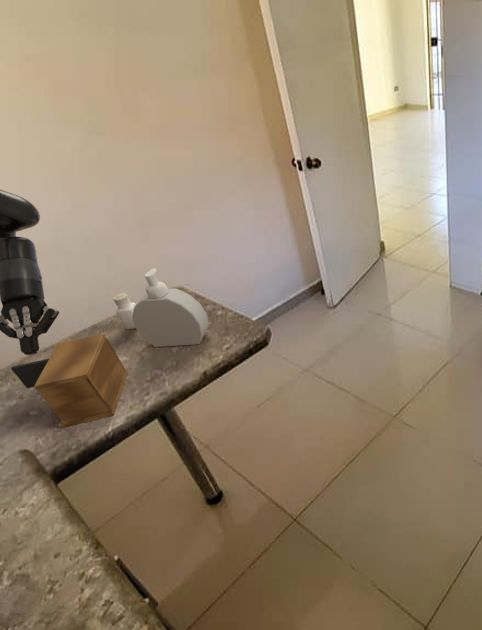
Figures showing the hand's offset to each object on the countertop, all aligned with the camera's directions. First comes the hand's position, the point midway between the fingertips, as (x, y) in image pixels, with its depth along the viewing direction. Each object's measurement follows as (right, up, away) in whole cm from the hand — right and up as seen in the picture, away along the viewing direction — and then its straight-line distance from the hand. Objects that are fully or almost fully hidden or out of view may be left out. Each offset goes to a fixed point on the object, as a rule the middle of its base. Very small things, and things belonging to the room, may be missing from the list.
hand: (30, 354), depth 98 cm
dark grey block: (+6, -9, -1) cm, 11 cm away
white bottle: (+10, +6, +21) cm, 24 cm away
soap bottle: (+26, +2, +15) cm, 30 cm away
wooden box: (+16, -10, -1) cm, 19 cm away
